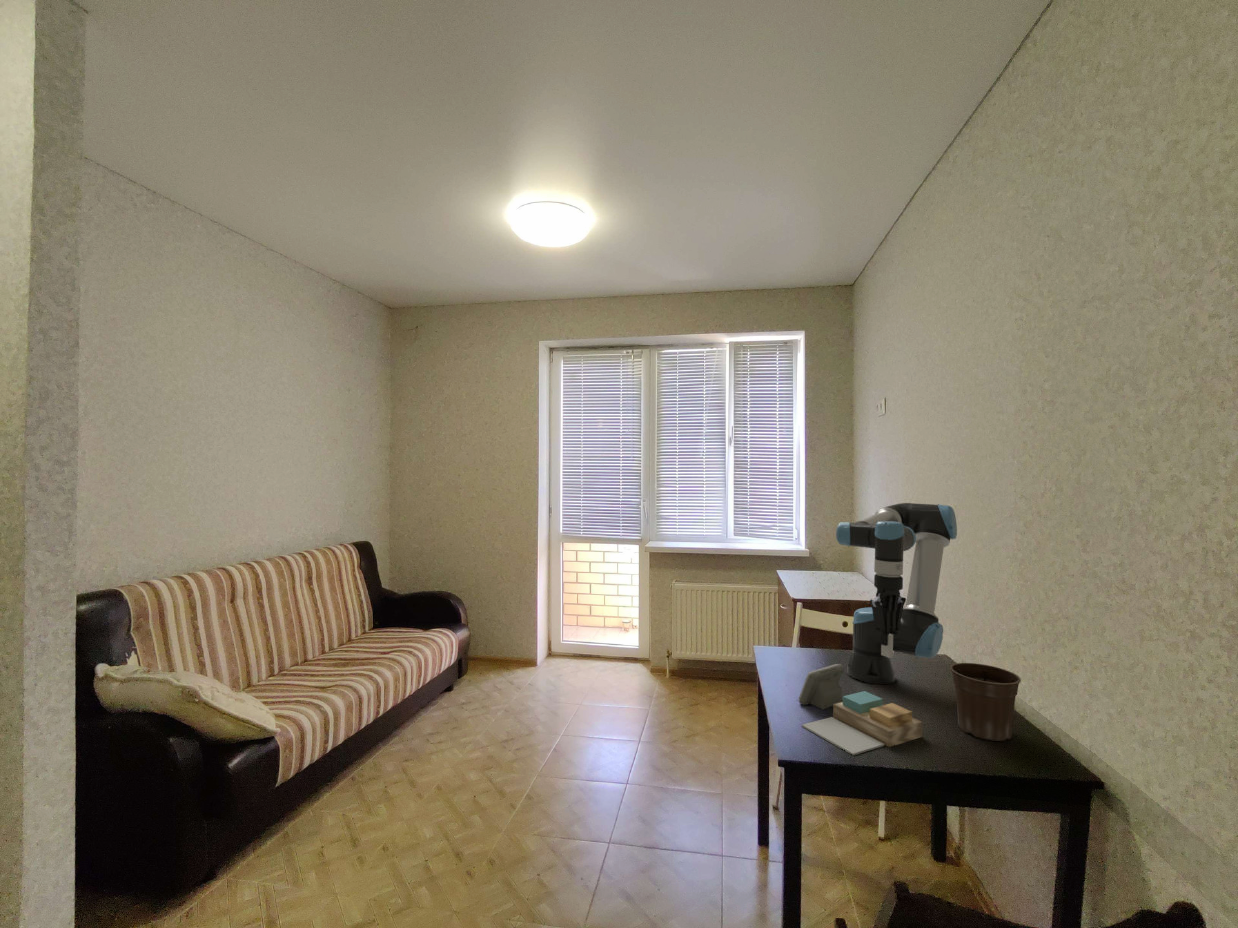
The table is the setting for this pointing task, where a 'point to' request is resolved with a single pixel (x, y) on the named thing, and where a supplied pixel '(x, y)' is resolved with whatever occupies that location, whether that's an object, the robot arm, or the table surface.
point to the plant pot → (985, 700)
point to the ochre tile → (890, 715)
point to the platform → (878, 726)
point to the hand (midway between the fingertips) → (886, 655)
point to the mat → (843, 735)
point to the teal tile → (862, 701)
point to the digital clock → (822, 687)
